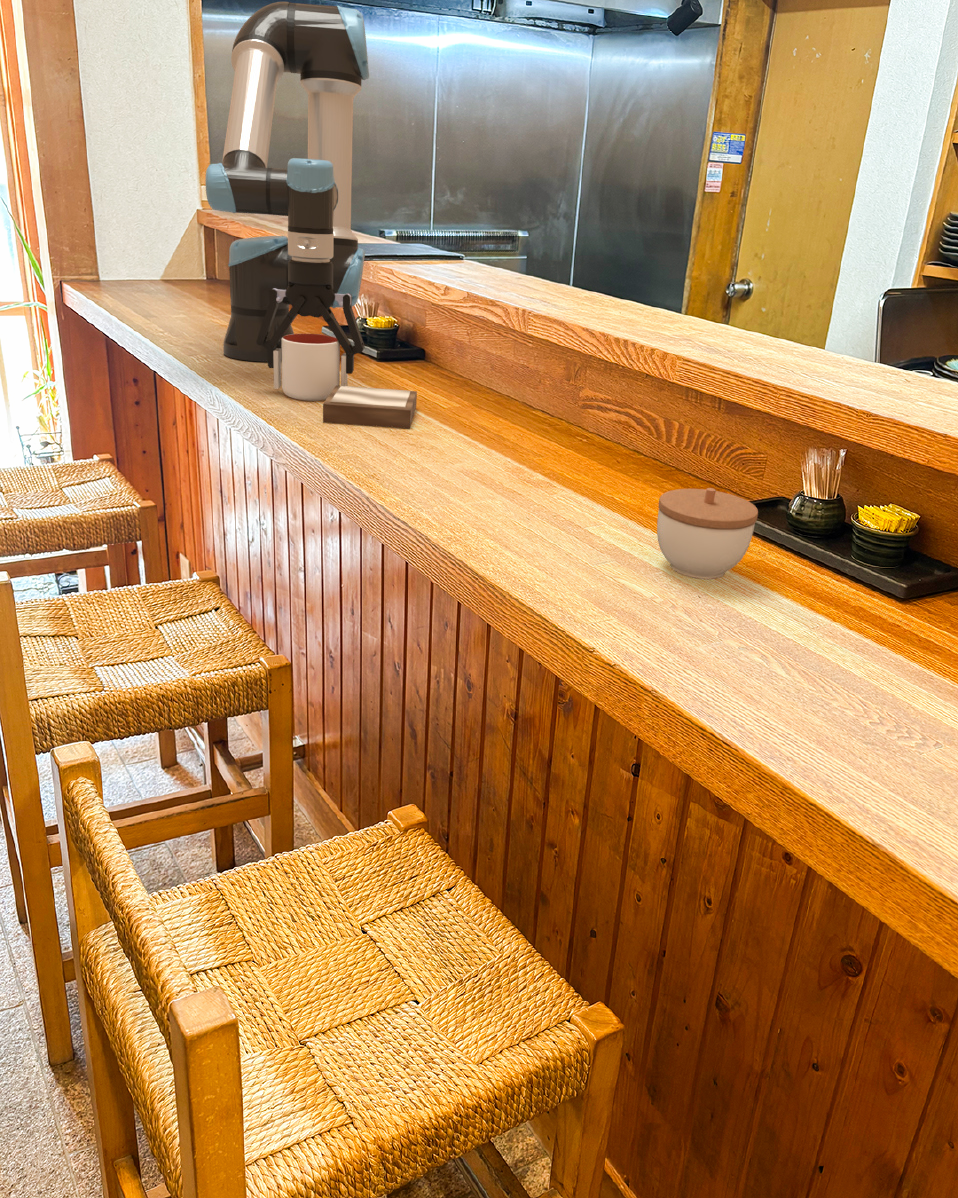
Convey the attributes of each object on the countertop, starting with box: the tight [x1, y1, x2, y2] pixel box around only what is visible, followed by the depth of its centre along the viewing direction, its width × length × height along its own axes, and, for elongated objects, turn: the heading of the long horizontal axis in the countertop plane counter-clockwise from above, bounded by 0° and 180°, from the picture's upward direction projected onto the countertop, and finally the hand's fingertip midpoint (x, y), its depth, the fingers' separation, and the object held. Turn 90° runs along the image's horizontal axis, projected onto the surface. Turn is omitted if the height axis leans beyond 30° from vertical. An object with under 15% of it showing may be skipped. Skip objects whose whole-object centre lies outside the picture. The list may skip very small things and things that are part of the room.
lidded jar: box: [656, 487, 759, 580], centre depth 108 cm, size 11×11×9 cm
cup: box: [281, 333, 341, 402], centre depth 172 cm, size 10×10×10 cm
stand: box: [322, 385, 418, 430], centre depth 163 cm, size 14×14×3 cm
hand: (310, 389), depth 173 cm, fingers open, 11 cm apart
